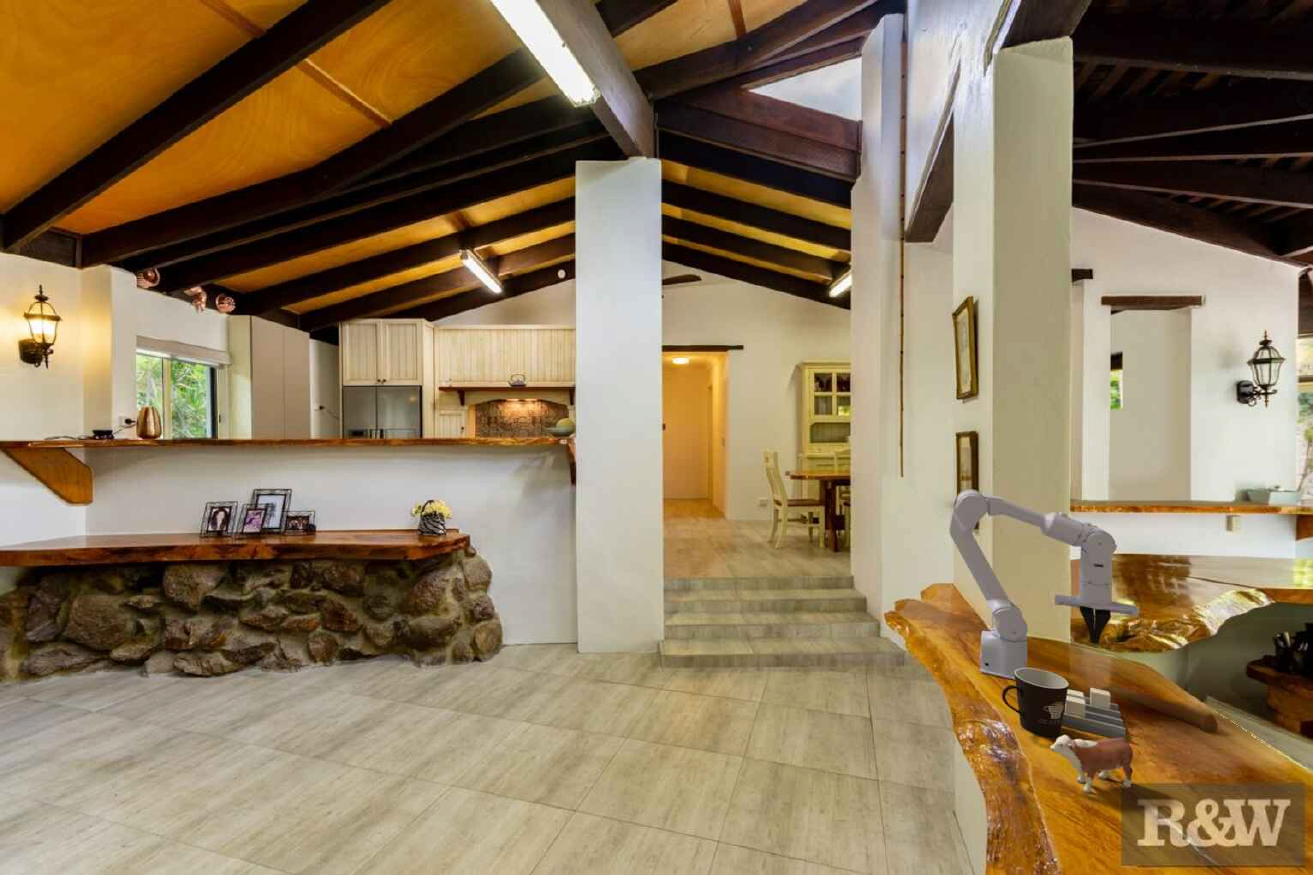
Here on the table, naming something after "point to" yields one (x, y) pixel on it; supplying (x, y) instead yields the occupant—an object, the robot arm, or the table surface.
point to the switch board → (1098, 720)
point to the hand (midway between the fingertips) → (1094, 641)
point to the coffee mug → (1039, 701)
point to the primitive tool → (1165, 707)
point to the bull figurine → (1096, 757)
